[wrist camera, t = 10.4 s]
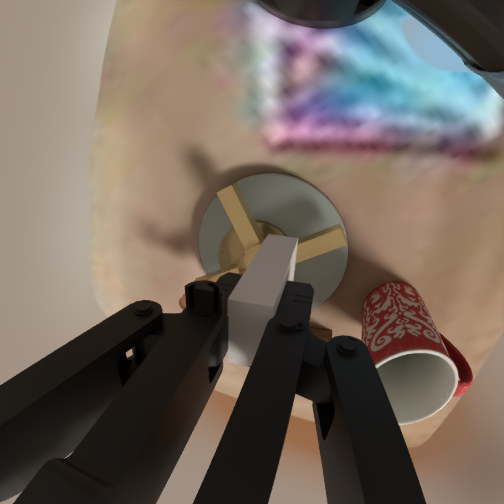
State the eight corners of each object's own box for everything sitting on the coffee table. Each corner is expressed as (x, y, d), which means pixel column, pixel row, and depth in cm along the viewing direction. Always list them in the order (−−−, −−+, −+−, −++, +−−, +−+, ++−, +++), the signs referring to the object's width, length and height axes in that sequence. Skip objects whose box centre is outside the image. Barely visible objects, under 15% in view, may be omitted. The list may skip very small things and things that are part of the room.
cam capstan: (309, 148, 29) (303, 153, 23) (368, 292, 33) (374, 328, 27) (171, 214, 35) (139, 233, 29) (237, 332, 39) (219, 368, 33)
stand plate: (204, 167, 34) (198, 168, 32) (357, 182, 31) (358, 185, 29) (204, 298, 40) (199, 304, 39) (334, 320, 37) (334, 327, 35)
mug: (341, 328, 37) (337, 414, 25) (373, 262, 33) (389, 337, 21) (427, 356, 36) (448, 437, 23) (464, 298, 32) (505, 372, 20)
